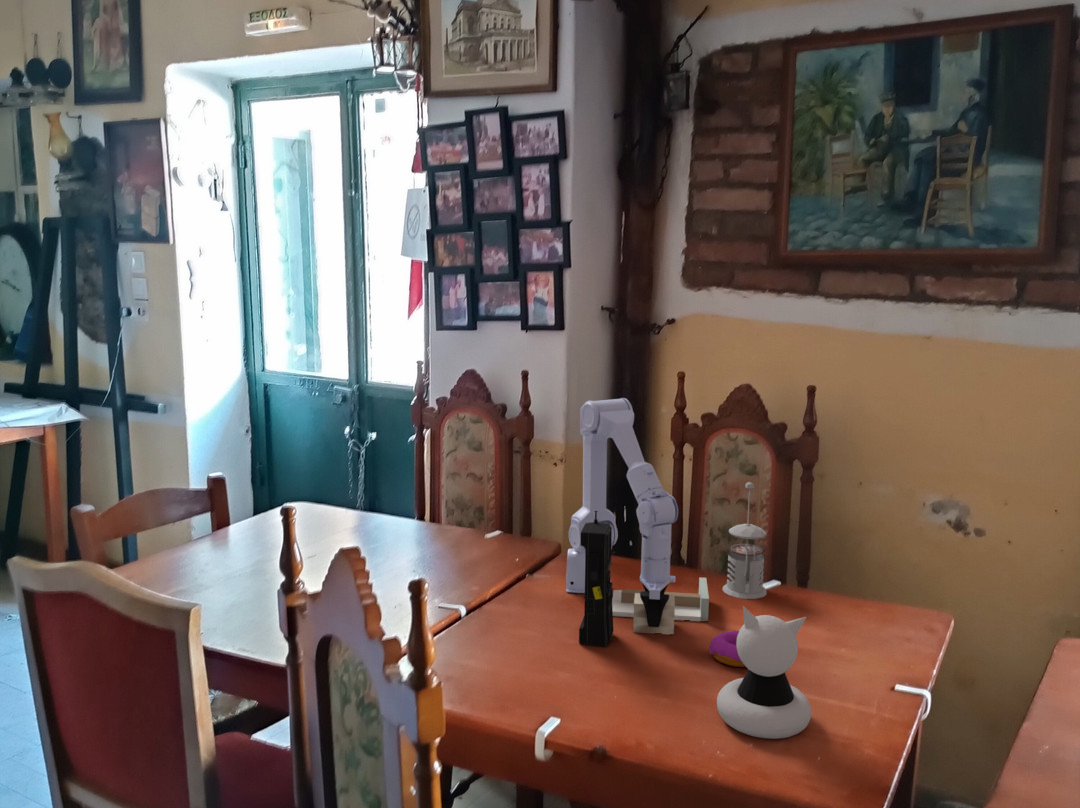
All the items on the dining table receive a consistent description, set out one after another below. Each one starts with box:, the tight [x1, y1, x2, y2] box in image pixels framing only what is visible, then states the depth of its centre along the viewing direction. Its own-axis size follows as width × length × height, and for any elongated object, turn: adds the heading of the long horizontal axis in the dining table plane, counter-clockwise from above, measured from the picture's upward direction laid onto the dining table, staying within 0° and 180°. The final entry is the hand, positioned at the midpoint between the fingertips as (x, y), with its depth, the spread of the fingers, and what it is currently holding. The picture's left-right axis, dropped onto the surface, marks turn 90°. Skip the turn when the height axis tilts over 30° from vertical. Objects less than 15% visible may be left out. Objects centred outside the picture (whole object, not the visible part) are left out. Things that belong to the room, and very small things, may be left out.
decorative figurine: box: [716, 605, 812, 740], centre depth 142 cm, size 15×15×20 cm
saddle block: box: [632, 593, 675, 635], centre depth 179 cm, size 8×6×6 cm
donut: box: [709, 630, 747, 668], centre depth 165 cm, size 10×10×4 cm
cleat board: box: [612, 577, 710, 622], centre depth 189 cm, size 20×12×5 cm, turn 82°
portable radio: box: [578, 511, 615, 647], centre depth 171 cm, size 8×6×25 cm
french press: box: [722, 481, 768, 600], centre depth 196 cm, size 10×12×25 cm
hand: (653, 620), depth 179 cm, fingers closed on saddle block, 6 cm apart
